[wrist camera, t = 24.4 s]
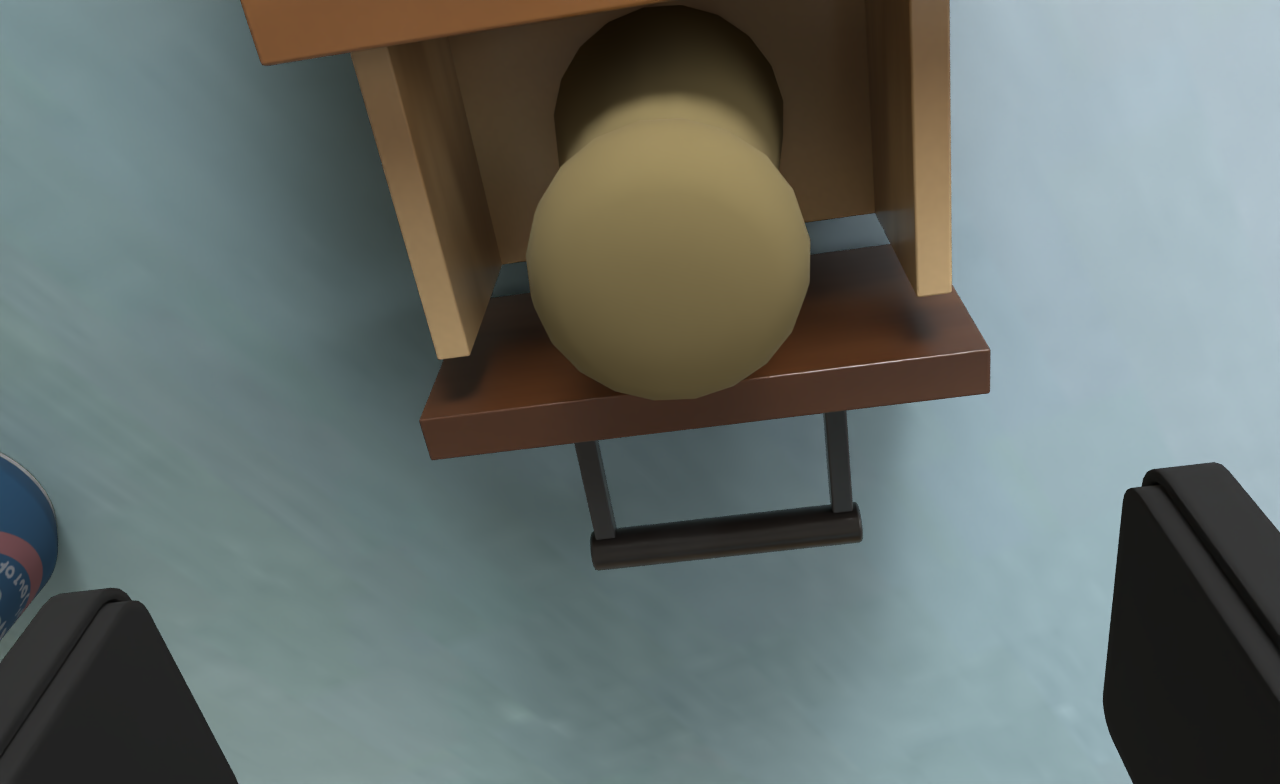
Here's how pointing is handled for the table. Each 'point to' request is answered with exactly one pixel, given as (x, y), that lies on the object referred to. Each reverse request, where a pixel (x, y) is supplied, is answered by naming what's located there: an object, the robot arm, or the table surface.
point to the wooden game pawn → (668, 210)
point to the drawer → (824, 188)
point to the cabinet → (392, 22)
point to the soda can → (23, 540)
